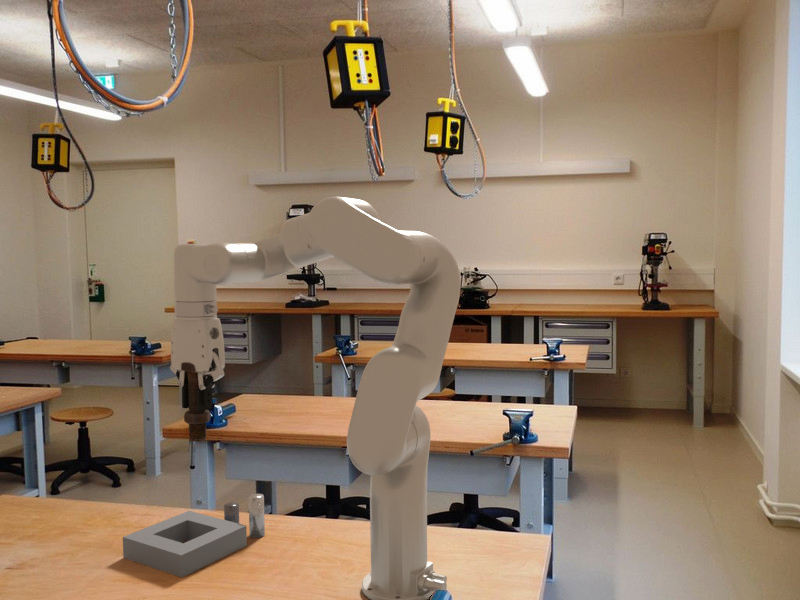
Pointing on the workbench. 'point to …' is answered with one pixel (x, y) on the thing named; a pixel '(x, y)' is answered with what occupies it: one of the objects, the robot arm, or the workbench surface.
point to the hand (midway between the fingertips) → (197, 407)
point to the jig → (171, 555)
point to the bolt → (195, 407)
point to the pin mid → (256, 515)
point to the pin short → (231, 512)
